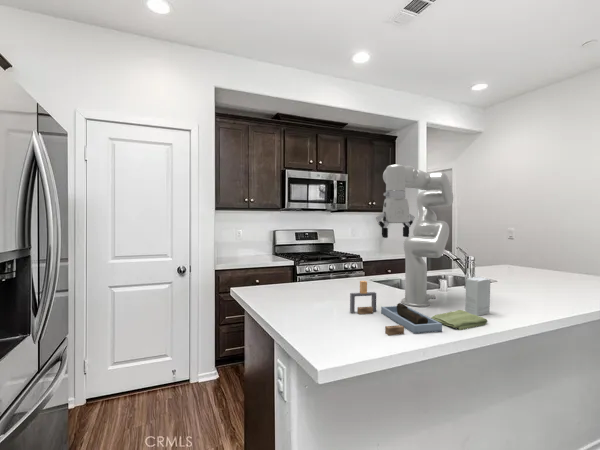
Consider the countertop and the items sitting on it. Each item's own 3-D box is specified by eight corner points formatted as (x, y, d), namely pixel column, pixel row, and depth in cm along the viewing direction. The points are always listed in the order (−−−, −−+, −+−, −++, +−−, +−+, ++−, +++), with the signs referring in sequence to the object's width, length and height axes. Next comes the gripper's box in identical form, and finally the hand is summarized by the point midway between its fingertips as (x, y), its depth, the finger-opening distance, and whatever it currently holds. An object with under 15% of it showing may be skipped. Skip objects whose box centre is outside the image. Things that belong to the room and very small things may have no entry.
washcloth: (428, 321, 125) (428, 313, 124) (460, 316, 132) (460, 308, 132) (457, 332, 112) (457, 323, 112) (490, 326, 120) (490, 317, 119)
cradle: (370, 312, 134) (370, 306, 134) (404, 334, 109) (404, 327, 109) (357, 312, 133) (357, 307, 133) (388, 335, 108) (388, 328, 108)
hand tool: (428, 328, 113) (428, 315, 113) (417, 328, 113) (418, 315, 113) (403, 313, 132) (403, 301, 132) (394, 313, 131) (394, 302, 131)
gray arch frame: (374, 310, 137) (374, 280, 137) (376, 311, 135) (376, 281, 135) (349, 311, 134) (350, 281, 134) (351, 312, 132) (352, 282, 132)
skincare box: (477, 310, 139) (477, 276, 139) (490, 314, 134) (491, 278, 133) (464, 312, 135) (465, 277, 135) (477, 316, 130) (478, 280, 130)
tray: (404, 311, 135) (404, 305, 135) (442, 331, 112) (442, 323, 112) (381, 313, 133) (381, 306, 133) (414, 333, 109) (414, 325, 109)
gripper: (381, 195, 124) (381, 238, 125) (419, 195, 129) (419, 237, 129) (371, 195, 131) (372, 237, 132) (408, 195, 136) (408, 235, 137)
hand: (395, 237), depth 131 cm, fingers open, 9 cm apart
